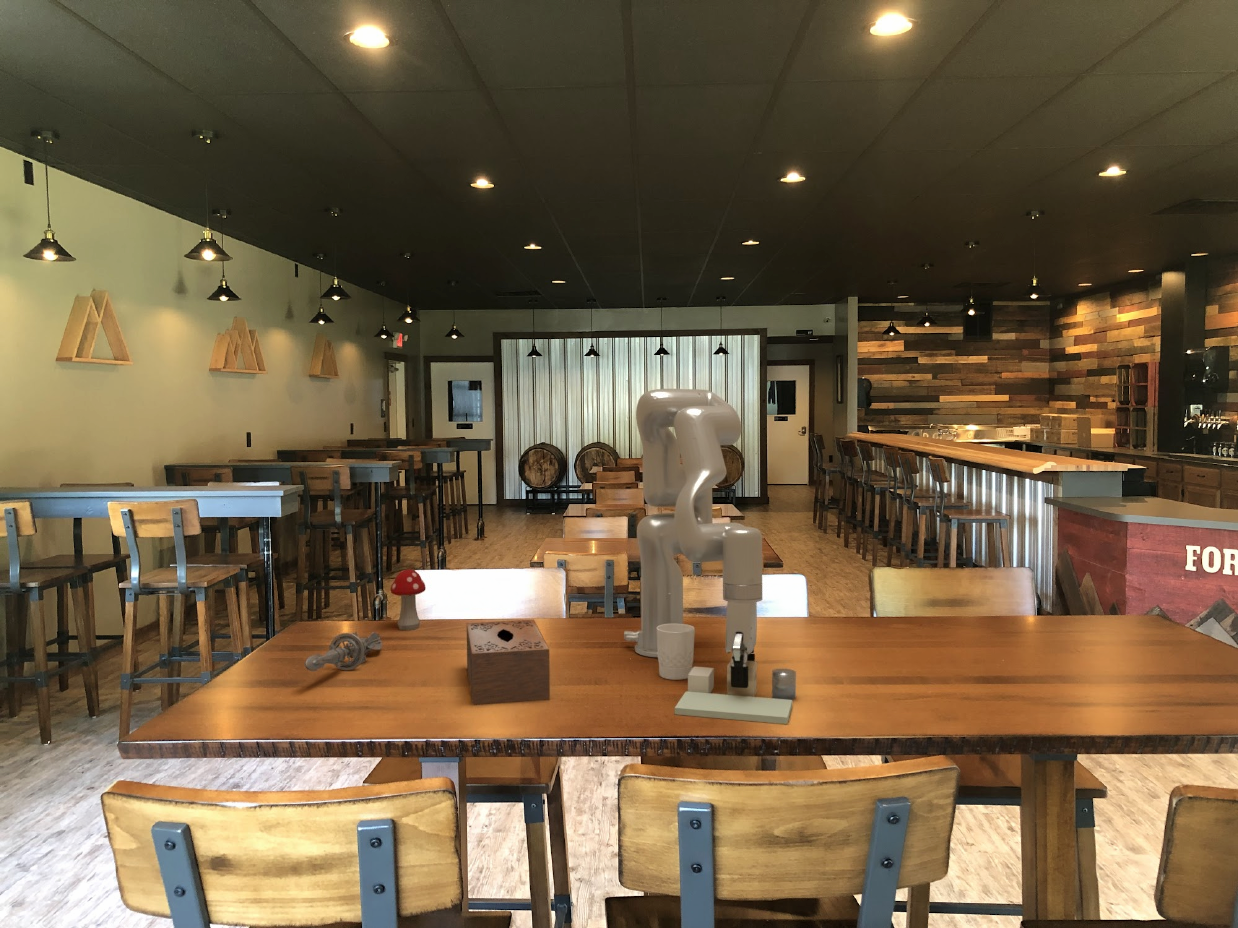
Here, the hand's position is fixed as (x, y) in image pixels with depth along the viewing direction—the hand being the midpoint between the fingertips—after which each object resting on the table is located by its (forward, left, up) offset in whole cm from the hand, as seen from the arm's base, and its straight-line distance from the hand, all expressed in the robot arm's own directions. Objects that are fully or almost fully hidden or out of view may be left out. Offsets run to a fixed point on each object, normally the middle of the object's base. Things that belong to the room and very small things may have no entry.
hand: (743, 680), depth 171 cm
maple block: (0, 0, -3) cm, 3 cm away
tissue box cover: (-47, -5, -3) cm, 48 cm away
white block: (-8, 0, -3) cm, 9 cm away
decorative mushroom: (-90, +33, -3) cm, 96 cm away
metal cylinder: (+8, 0, -3) cm, 8 cm away
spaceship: (-84, -5, -3) cm, 84 cm away
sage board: (0, -10, -3) cm, 10 cm away
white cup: (-15, +9, -3) cm, 18 cm away
